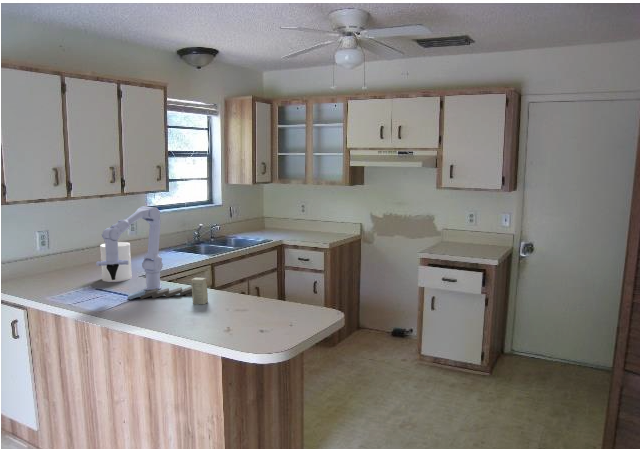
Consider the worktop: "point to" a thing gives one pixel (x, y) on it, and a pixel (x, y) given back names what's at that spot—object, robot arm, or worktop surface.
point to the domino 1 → (136, 294)
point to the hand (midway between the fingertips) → (113, 279)
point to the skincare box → (199, 290)
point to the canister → (123, 270)
